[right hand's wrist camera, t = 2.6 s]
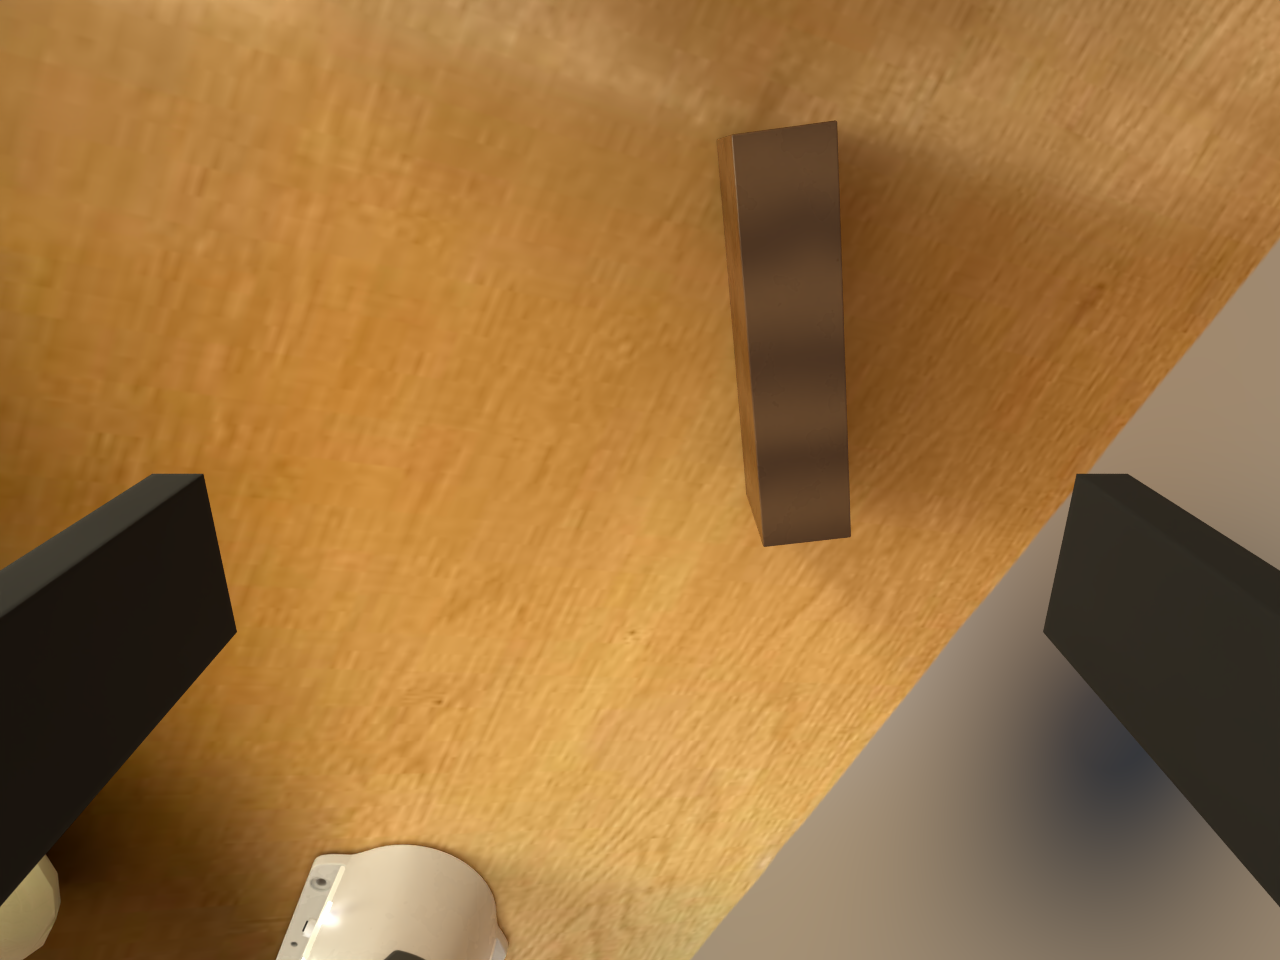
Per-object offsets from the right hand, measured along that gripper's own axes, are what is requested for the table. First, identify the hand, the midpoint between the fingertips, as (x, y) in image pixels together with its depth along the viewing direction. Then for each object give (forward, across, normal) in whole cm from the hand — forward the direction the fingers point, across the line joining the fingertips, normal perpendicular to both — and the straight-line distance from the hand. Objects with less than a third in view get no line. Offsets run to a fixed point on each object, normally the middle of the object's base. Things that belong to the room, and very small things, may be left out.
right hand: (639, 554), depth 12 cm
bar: (+41, +9, -4) cm, 42 cm away
